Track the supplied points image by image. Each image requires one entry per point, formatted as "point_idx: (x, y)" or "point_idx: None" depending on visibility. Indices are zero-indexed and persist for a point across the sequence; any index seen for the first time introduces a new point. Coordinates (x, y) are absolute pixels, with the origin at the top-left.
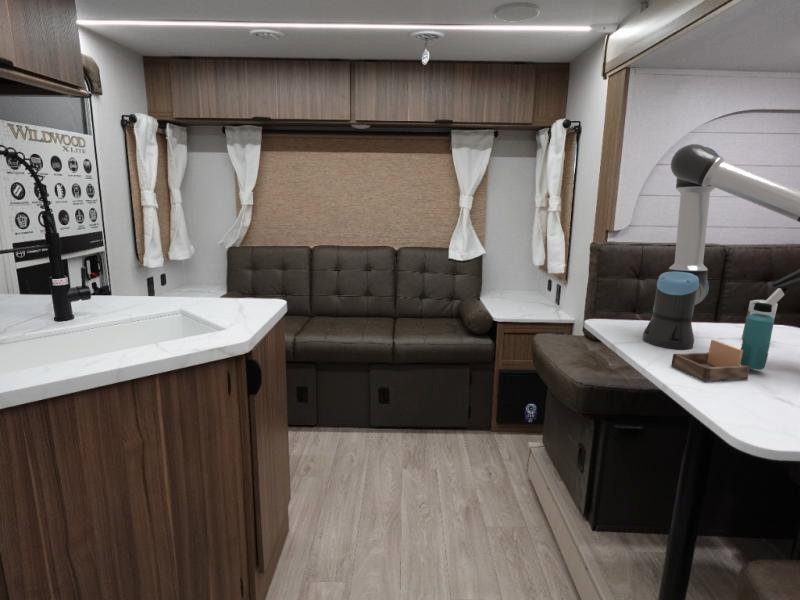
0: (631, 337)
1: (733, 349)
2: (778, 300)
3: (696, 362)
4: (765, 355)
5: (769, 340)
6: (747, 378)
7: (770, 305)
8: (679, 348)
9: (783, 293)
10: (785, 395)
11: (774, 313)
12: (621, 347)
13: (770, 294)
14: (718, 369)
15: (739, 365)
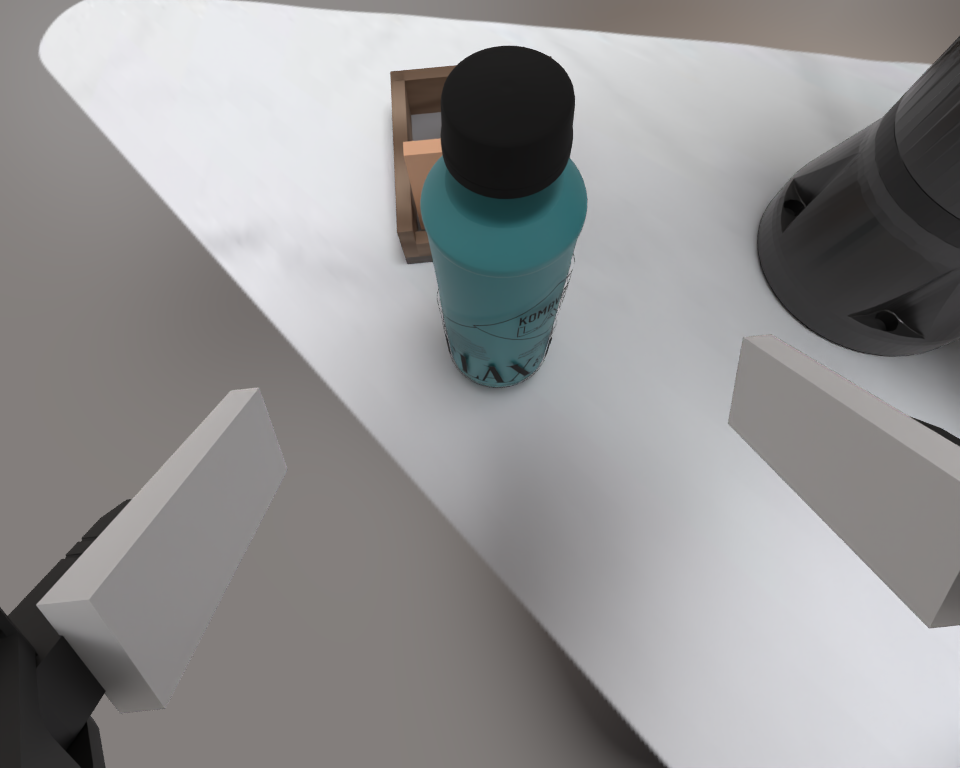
0: None
1: (437, 144)
2: (824, 516)
3: None
4: (446, 328)
5: (441, 299)
6: (406, 259)
7: (446, 107)
8: (758, 240)
9: (939, 598)
10: (267, 283)
11: None
12: (749, 52)
13: (941, 435)
14: (392, 112)
15: (415, 203)
